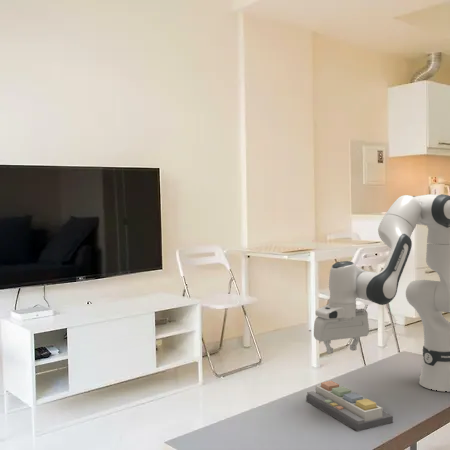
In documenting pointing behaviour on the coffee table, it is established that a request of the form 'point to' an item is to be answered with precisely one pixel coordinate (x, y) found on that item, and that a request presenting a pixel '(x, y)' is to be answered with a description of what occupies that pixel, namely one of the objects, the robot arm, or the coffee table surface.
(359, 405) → the key ochre
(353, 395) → the key slate
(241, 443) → the coffee table surface
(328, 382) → the key terracotta
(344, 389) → the key sage
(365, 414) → the coloured button panel
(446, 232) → the robot arm
